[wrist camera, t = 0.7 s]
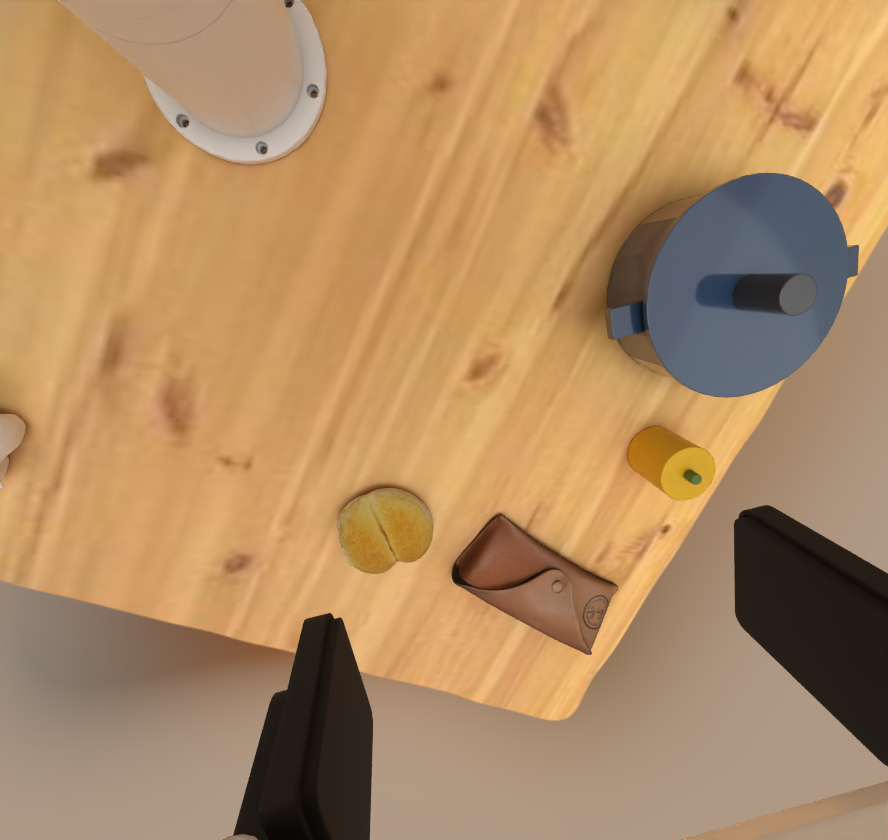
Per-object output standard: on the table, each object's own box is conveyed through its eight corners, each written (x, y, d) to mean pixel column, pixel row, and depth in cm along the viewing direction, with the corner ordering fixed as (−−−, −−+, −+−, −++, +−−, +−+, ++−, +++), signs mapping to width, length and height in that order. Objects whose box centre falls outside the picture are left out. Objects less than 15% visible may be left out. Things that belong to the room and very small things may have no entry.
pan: (566, 228, 40) (603, 218, 33) (793, 171, 41) (872, 151, 34) (590, 398, 45) (627, 419, 38) (793, 343, 46) (862, 354, 39)
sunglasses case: (625, 585, 51) (632, 647, 47) (578, 604, 56) (580, 662, 51) (496, 510, 47) (489, 569, 42) (456, 537, 51) (446, 594, 46)
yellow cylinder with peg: (624, 434, 47) (666, 461, 40) (673, 420, 47) (723, 445, 40) (630, 480, 48) (671, 513, 41) (677, 466, 48) (726, 497, 42)
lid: (627, 205, 34) (673, 191, 29) (838, 152, 35) (921, 129, 29) (648, 416, 39) (691, 438, 34) (831, 365, 40) (902, 379, 35)
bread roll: (441, 542, 48) (446, 565, 44) (357, 570, 47) (355, 596, 43) (417, 471, 45) (420, 490, 41) (327, 500, 45) (322, 521, 41)
